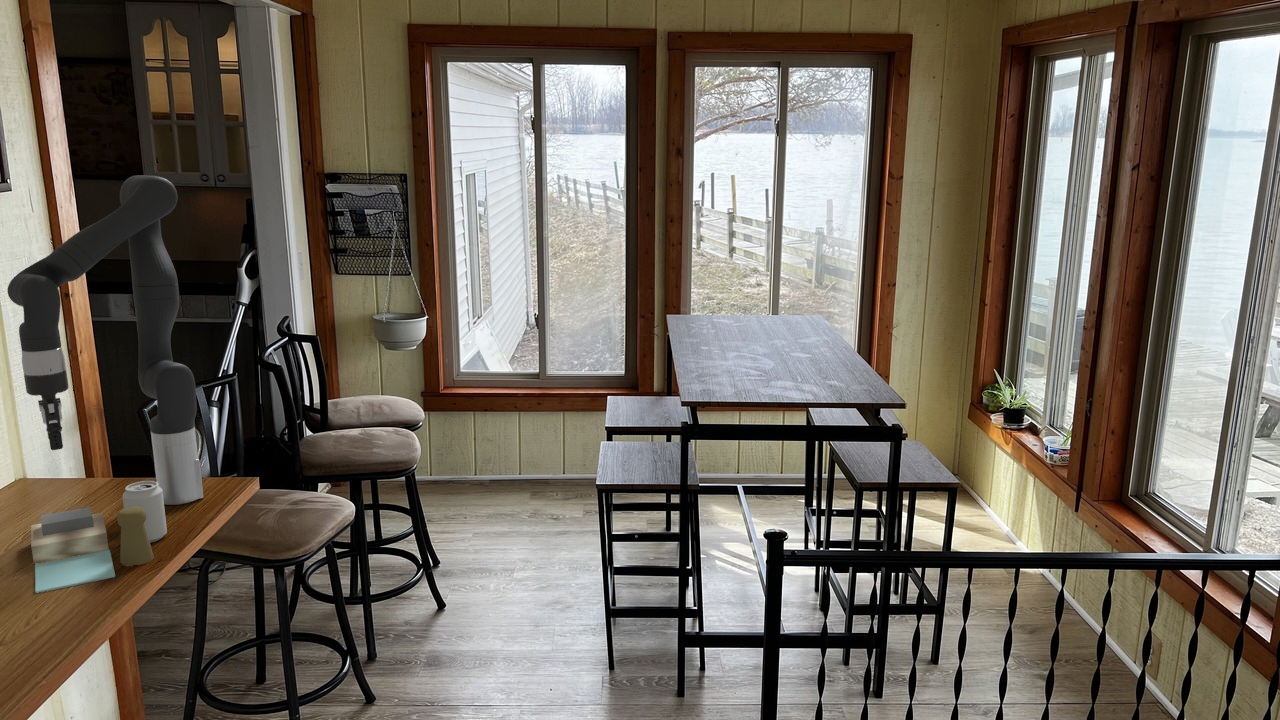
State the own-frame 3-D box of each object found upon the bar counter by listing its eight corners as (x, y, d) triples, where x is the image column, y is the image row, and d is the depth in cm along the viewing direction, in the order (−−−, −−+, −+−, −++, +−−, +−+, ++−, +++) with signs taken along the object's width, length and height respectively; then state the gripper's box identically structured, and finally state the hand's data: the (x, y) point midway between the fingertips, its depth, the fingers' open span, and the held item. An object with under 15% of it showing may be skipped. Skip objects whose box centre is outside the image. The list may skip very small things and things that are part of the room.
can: (175, 533, 200) (169, 481, 198) (147, 547, 193) (140, 493, 191) (148, 529, 203) (142, 477, 200) (119, 542, 196) (112, 488, 193)
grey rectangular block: (92, 517, 199) (90, 506, 198) (93, 526, 194) (92, 515, 193) (42, 526, 194) (40, 515, 193) (42, 535, 189) (41, 524, 189)
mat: (110, 551, 191) (109, 549, 191) (115, 576, 180) (115, 575, 180) (35, 566, 184) (35, 564, 184) (35, 593, 173) (35, 591, 173)
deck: (104, 529, 202) (102, 512, 201) (108, 550, 192) (106, 532, 191) (33, 542, 195) (31, 525, 195) (34, 565, 185) (31, 546, 184)
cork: (139, 567, 184) (133, 515, 182) (113, 564, 185) (106, 513, 183) (160, 555, 190) (154, 504, 187) (134, 552, 191) (128, 502, 189)
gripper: (68, 374, 190) (79, 449, 193) (63, 361, 201) (73, 432, 205) (24, 379, 186) (36, 456, 189) (22, 365, 197) (33, 438, 201)
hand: (55, 444), depth 197 cm, fingers open, 8 cm apart
